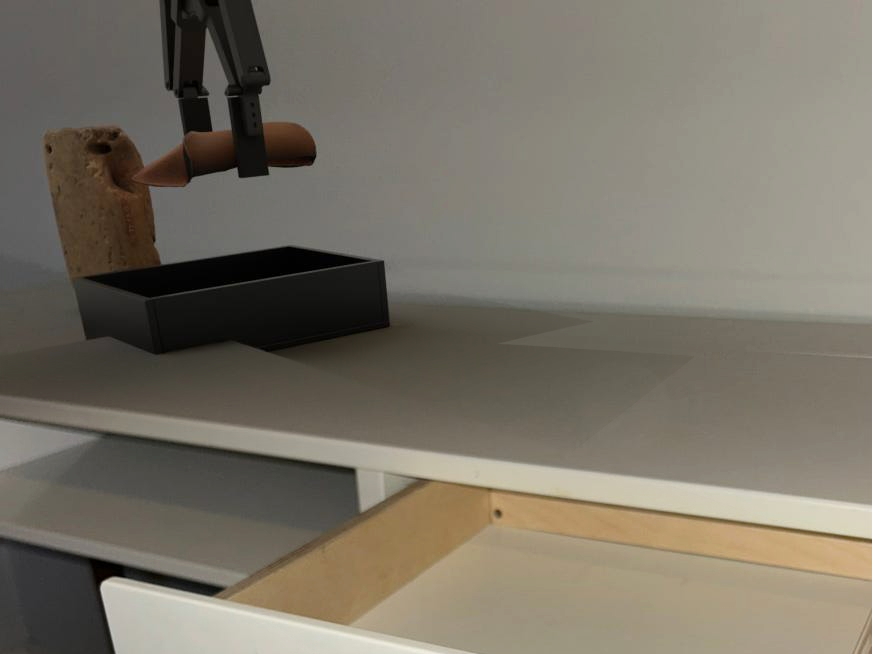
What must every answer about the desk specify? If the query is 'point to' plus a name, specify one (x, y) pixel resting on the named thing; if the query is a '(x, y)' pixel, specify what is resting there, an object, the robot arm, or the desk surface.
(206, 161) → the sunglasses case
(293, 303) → the open box
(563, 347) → the desk surface
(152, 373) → the desk surface
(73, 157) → the block
